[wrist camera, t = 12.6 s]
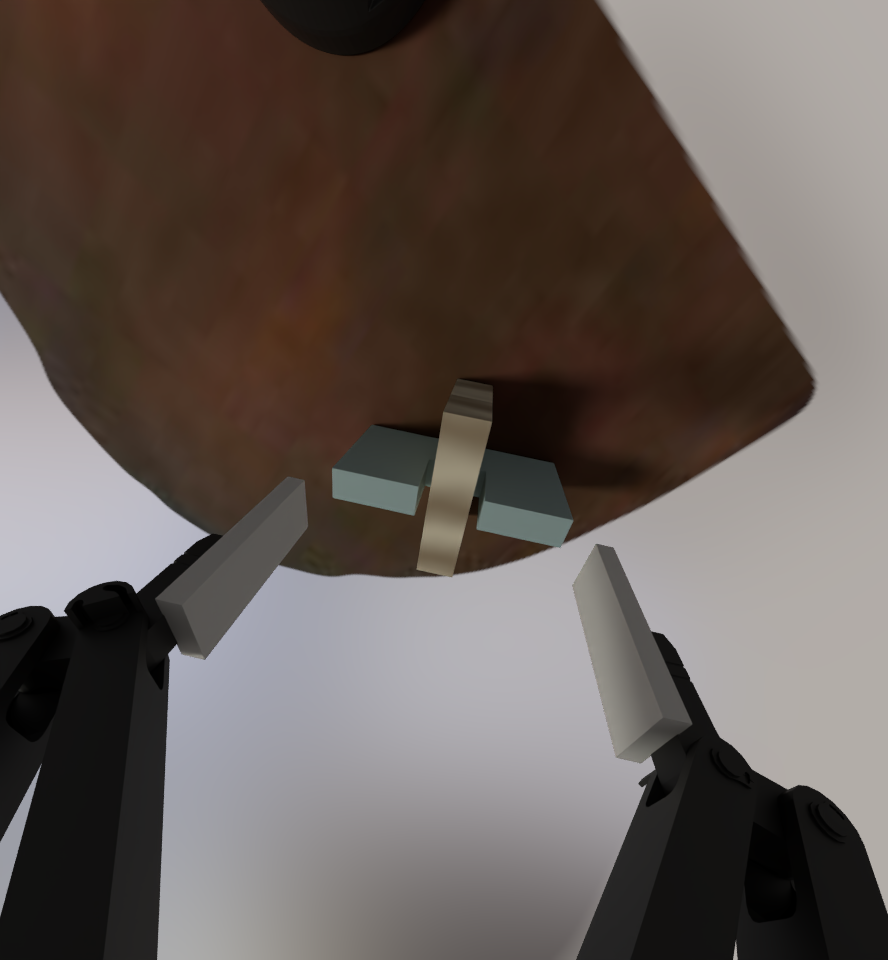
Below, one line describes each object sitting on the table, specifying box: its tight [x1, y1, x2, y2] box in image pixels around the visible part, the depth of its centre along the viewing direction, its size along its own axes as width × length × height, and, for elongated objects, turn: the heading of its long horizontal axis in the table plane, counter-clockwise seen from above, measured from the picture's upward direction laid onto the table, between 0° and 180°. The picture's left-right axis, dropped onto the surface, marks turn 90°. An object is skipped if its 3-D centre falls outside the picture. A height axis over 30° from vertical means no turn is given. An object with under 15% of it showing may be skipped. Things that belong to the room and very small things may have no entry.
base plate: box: [332, 425, 573, 547], centre depth 31 cm, size 20×3×10 cm, turn 80°
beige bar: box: [417, 379, 493, 577], centre depth 31 cm, size 16×4×10 cm, turn 171°
